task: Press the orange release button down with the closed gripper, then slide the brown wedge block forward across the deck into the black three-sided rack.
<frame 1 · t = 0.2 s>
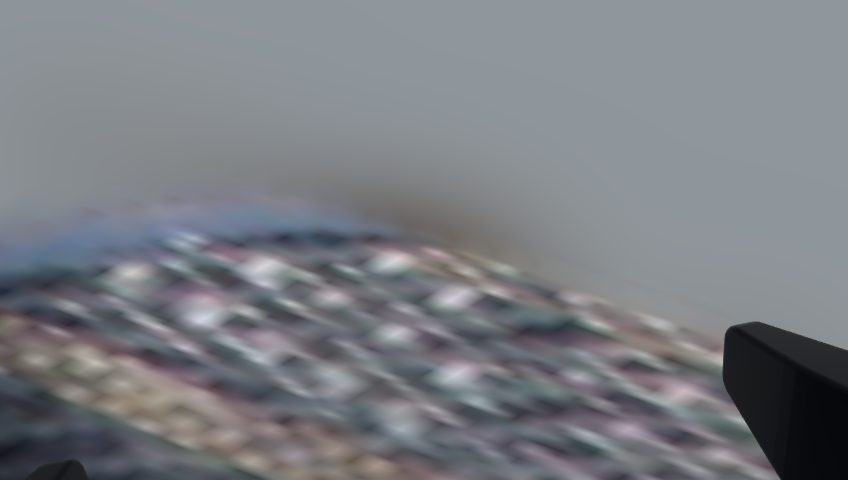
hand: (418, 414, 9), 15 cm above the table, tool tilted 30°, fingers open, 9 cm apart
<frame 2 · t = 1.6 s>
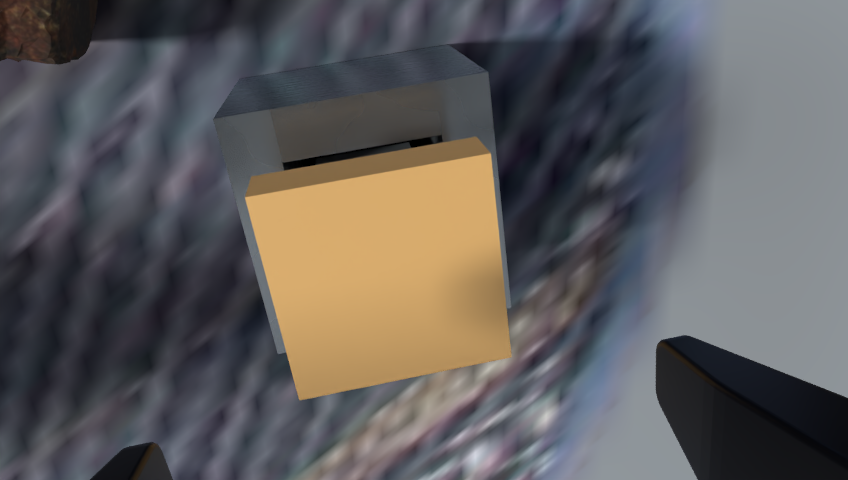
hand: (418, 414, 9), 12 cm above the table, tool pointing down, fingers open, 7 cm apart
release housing: (363, 161, 20), on the table
release button: (378, 232, 15), point 6 cm above the table, slide at 0.0 cm
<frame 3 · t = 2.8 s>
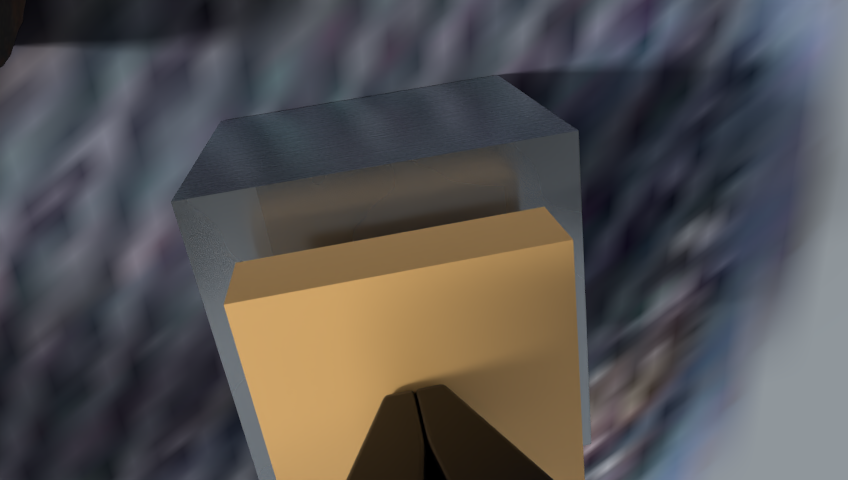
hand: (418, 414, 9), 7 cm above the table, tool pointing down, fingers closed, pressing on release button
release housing: (383, 225, 15), on the table
release button: (404, 318, 11), point 4 cm above the table, slide at 1.3 cm, touching gripper
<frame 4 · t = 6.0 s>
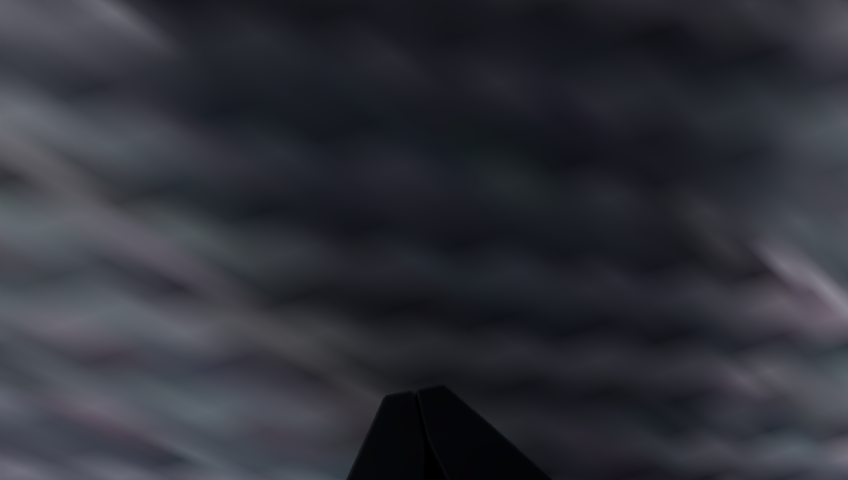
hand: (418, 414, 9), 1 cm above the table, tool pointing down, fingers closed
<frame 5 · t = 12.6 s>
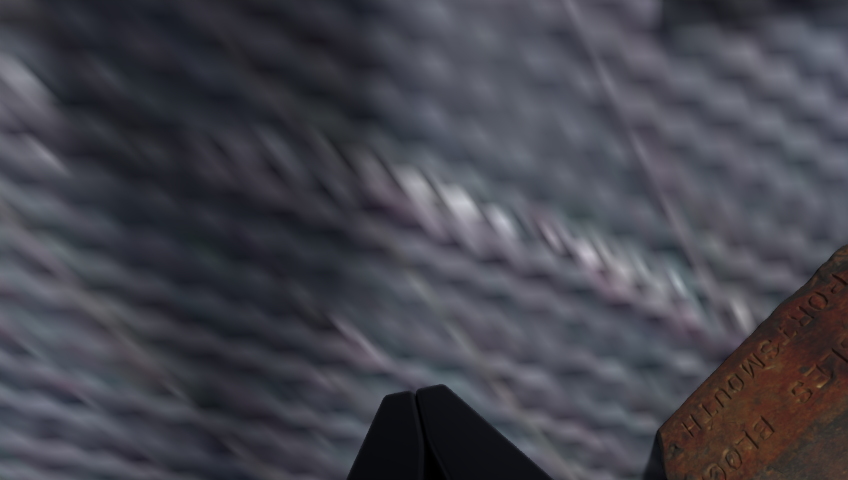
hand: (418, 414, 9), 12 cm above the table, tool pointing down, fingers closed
brown wedge block: (766, 359, 25), on the table
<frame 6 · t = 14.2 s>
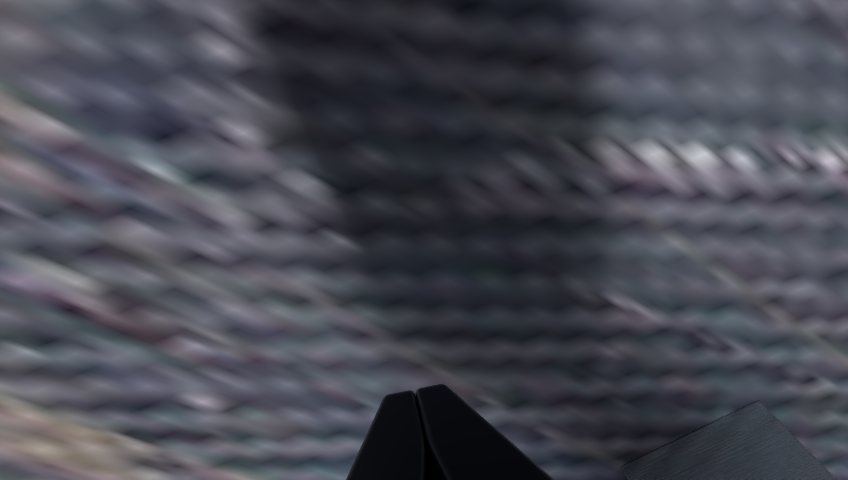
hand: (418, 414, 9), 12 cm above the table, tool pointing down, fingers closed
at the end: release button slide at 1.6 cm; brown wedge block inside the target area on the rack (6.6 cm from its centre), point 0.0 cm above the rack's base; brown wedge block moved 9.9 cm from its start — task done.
